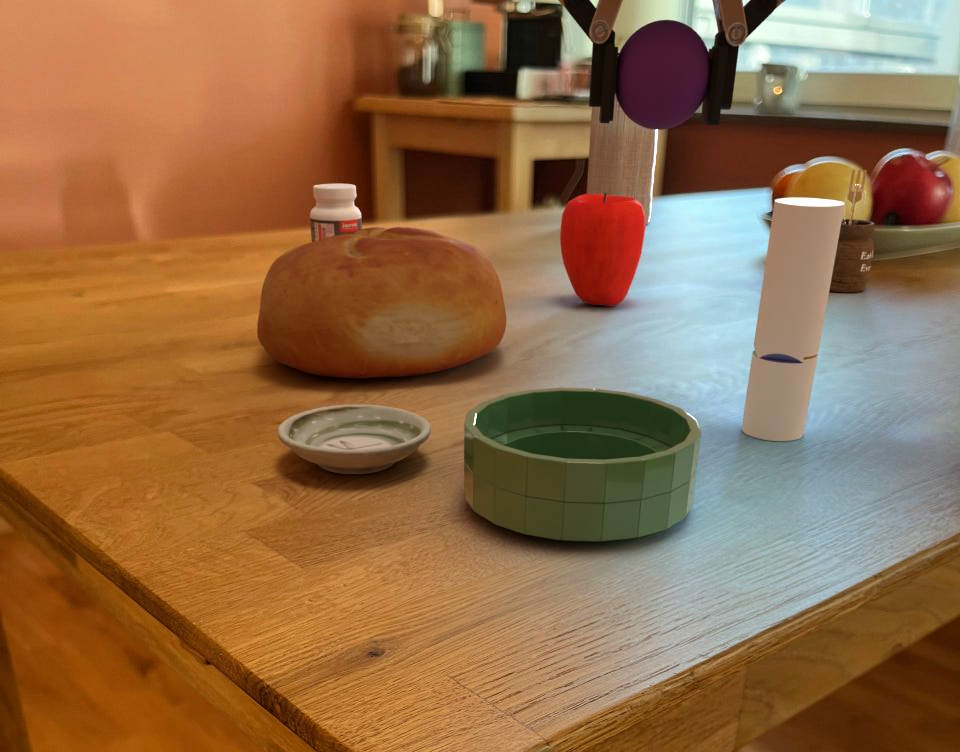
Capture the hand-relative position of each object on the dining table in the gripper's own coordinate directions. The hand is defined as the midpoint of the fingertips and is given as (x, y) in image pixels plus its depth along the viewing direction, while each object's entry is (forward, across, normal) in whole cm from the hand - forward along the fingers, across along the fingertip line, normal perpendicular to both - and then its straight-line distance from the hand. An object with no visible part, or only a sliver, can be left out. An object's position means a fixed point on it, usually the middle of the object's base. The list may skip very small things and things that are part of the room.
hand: (657, 119), depth 60 cm
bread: (+20, -20, +21) cm, 35 cm away
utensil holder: (+20, +27, +55) cm, 64 cm away
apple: (+20, -1, +43) cm, 47 cm away
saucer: (+20, -18, -6) cm, 27 cm away
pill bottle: (+20, -30, +51) cm, 63 cm away
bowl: (+20, -4, -12) cm, 23 cm away
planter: (+20, +4, +101) cm, 103 cm away
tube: (+20, +10, +3) cm, 22 cm away
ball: (-2, 0, 0) cm, 2 cm away
